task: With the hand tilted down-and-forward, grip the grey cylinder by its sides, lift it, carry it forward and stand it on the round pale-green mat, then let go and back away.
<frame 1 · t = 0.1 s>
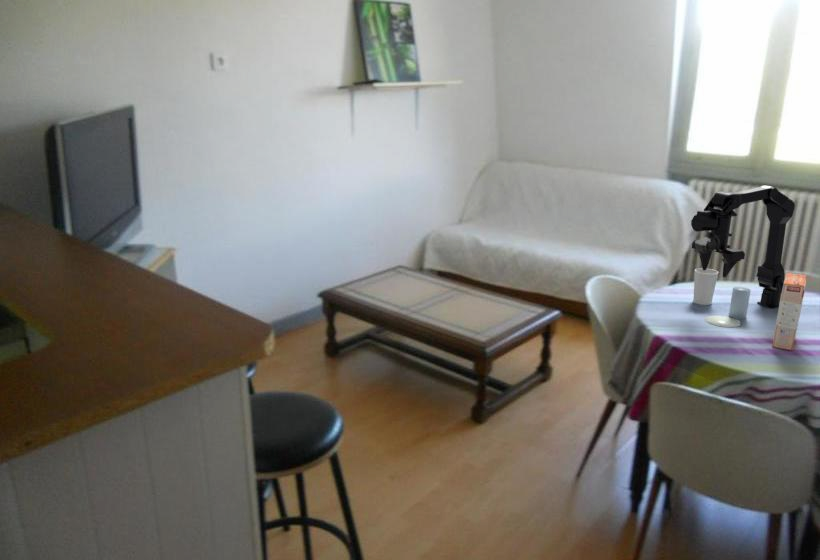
hand: (714, 273, 227), 15 cm above the table, tool pointing down, fingers open, 9 cm apart
cup: (702, 302, 243), on the table
mat: (722, 321, 224), on the table
grey cylinder: (737, 316, 228), on the table
cracker box: (783, 343, 206), on the table
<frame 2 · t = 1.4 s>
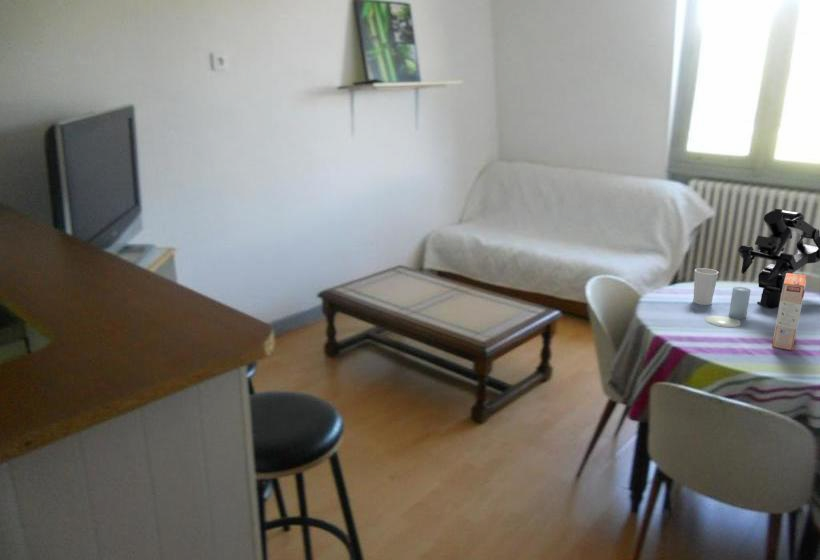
hand: (754, 276, 228), 13 cm above the table, tool tilted 45°, fingers open, 9 cm apart
nothing on the table moved.
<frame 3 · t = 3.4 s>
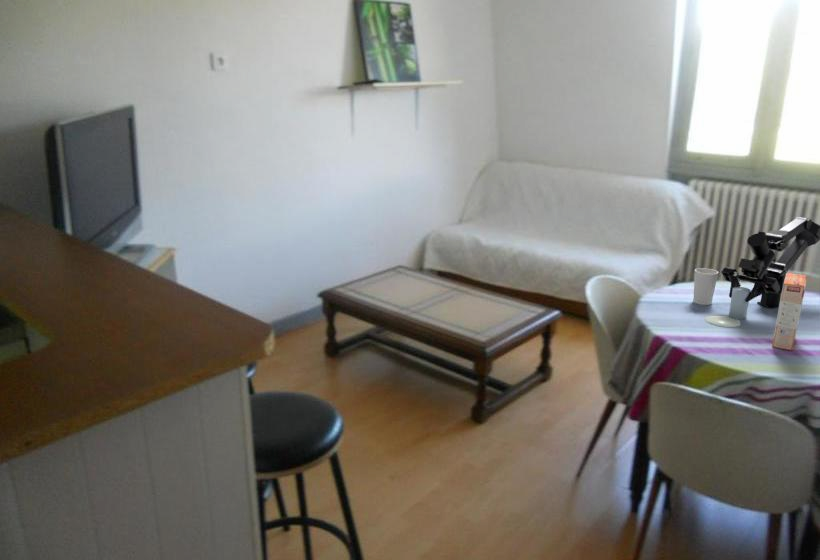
hand: (737, 299, 226), 7 cm above the table, tool tilted 45°, fingers closed on grey cylinder, 5 cm apart
grey cylinder: (737, 316, 228), on the table, touching gripper
everything else where it was.
when the fingers open (8 cm above the table, at t = 6.5 s): grey cylinder drops 1 cm, resting on mat.
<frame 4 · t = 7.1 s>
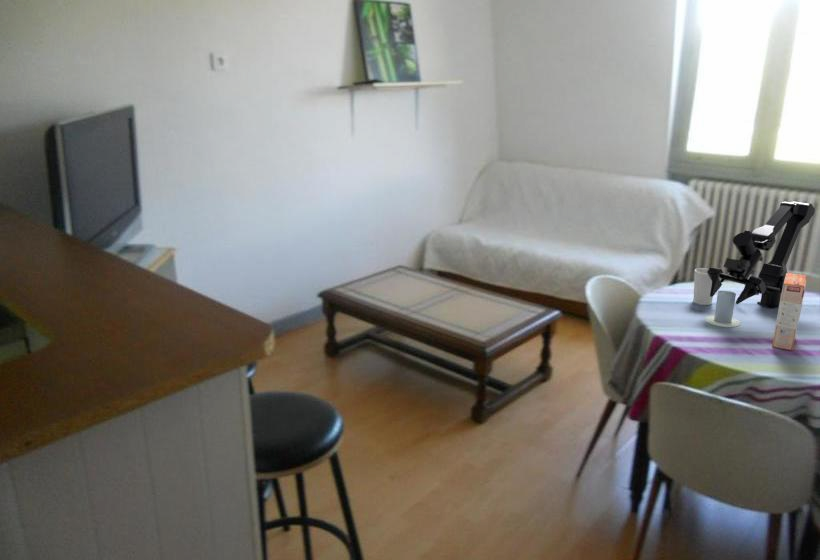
hand: (723, 299, 220), 8 cm above the table, tool tilted 45°, fingers open, 9 cm apart
grey cylinder: (722, 320, 224), resting on mat
everything else where it was.
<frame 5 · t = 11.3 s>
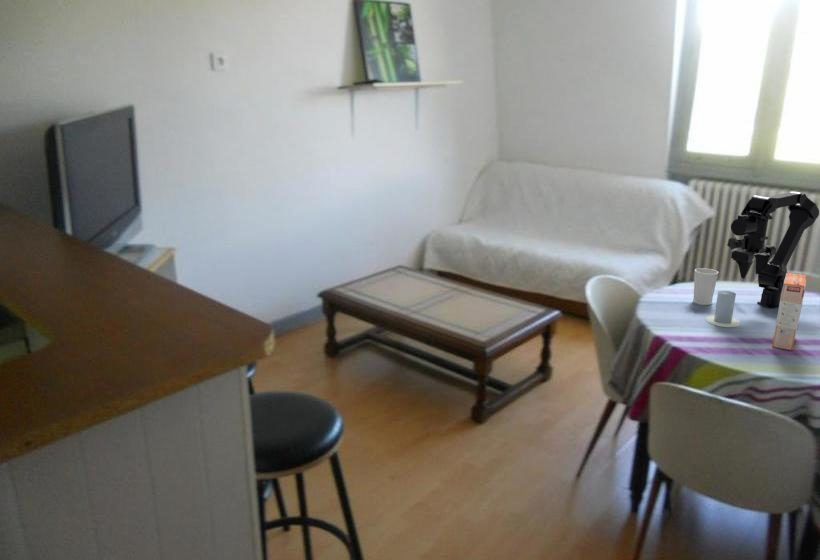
hand: (750, 276, 230), 13 cm above the table, tool pointing down, fingers open, 9 cm apart
nothing on the table moved.
at the end: grey cylinder 0.1 cm from the mat (horizontally); grey cylinder tilted 0°; grey cylinder resting on mat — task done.
